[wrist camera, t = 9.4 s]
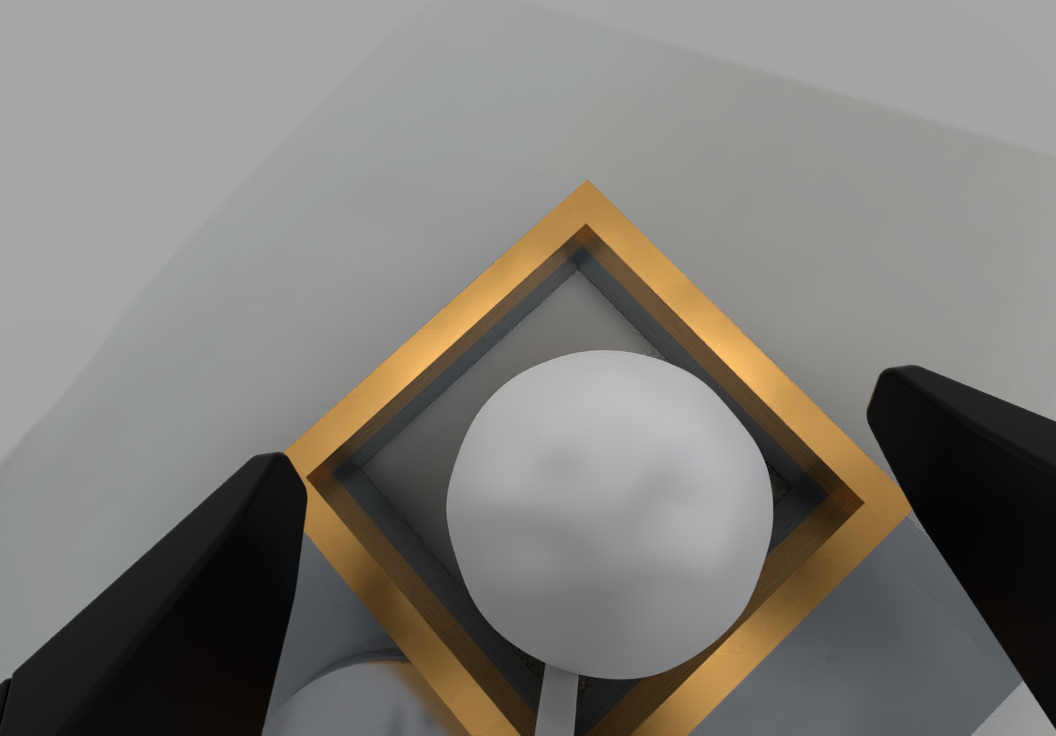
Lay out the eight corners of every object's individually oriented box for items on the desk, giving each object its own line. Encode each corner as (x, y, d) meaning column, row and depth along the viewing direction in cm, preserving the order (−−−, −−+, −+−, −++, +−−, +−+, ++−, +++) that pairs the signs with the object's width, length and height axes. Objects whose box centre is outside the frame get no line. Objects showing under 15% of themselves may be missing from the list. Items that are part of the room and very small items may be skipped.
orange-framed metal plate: (497, 1120, 13) (480, 1361, 10) (131, 629, 15) (9, 686, 12) (978, 626, 14) (1113, 685, 11) (579, 225, 16) (587, 168, 13)
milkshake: (471, 548, 15) (328, 757, 5) (527, 374, 16) (490, 271, 6) (621, 599, 15) (766, 925, 5) (672, 419, 15) (892, 391, 6)
